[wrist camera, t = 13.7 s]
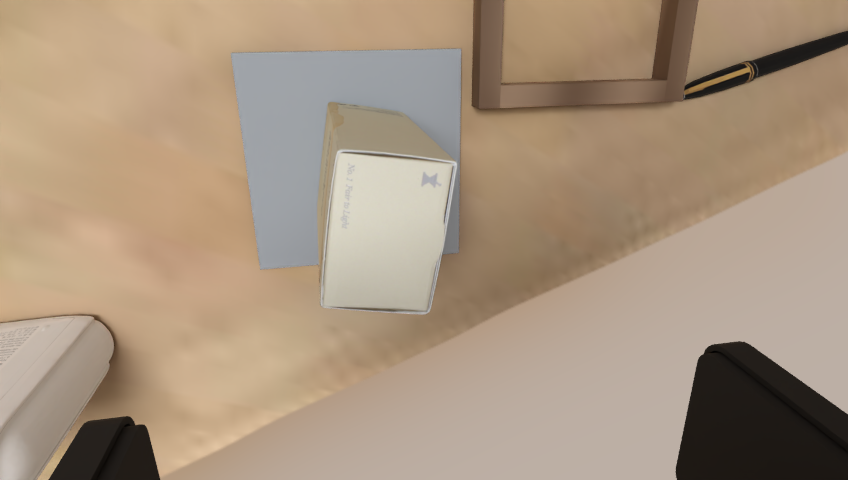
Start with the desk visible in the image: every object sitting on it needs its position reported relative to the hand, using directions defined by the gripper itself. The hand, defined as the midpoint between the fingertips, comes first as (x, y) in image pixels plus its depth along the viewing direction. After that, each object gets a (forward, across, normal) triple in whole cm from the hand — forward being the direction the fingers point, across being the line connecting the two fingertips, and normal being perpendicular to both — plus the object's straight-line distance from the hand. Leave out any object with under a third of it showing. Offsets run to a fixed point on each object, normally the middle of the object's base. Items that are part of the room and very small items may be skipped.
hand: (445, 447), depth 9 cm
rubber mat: (+23, 0, 0) cm, 23 cm away
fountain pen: (+24, -26, -5) cm, 36 cm away
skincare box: (+23, 0, 0) cm, 23 cm away
